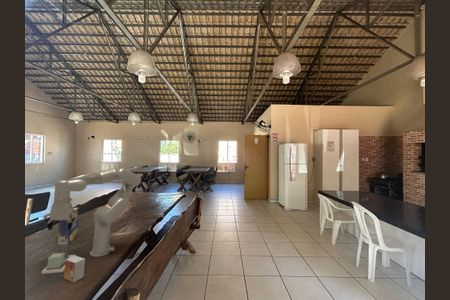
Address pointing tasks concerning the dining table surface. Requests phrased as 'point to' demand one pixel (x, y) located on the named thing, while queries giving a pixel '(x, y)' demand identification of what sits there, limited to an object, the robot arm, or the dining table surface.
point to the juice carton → (68, 234)
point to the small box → (74, 268)
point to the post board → (62, 268)
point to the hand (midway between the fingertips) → (60, 229)
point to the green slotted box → (56, 260)
